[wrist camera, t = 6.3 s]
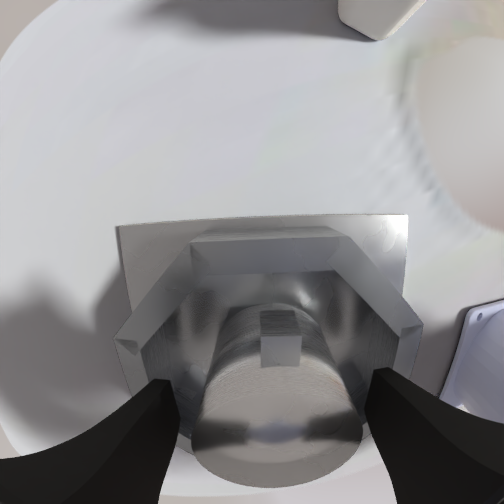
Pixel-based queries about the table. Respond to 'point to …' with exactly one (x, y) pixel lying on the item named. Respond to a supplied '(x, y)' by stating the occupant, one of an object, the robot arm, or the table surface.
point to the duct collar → (264, 295)
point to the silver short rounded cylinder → (274, 402)
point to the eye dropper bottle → (377, 15)
